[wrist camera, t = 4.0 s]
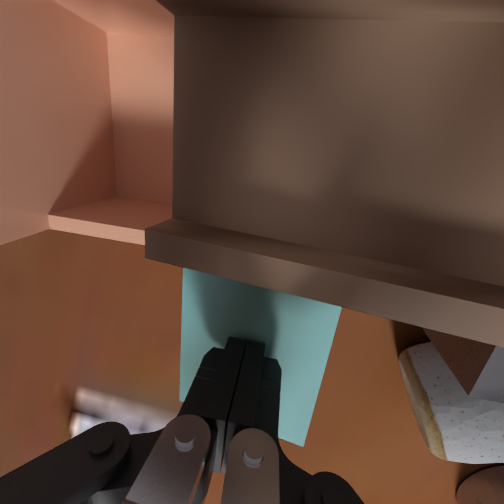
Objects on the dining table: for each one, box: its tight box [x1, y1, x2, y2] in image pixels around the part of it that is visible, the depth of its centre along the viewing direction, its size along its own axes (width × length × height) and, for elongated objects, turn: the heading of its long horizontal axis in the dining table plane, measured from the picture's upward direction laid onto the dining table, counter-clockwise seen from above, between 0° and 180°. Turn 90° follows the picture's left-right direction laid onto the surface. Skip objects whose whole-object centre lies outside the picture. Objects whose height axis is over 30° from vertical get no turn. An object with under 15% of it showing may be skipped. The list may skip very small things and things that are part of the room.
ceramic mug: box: [398, 342, 504, 464], centre depth 19 cm, size 11×8×8 cm
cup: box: [0, 0, 174, 245], centre depth 12 cm, size 12×12×16 cm
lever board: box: [145, 0, 504, 447], centre depth 11 cm, size 20×16×10 cm
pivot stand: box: [422, 327, 504, 403], centre depth 12 cm, size 3×13×12 cm, turn 173°
